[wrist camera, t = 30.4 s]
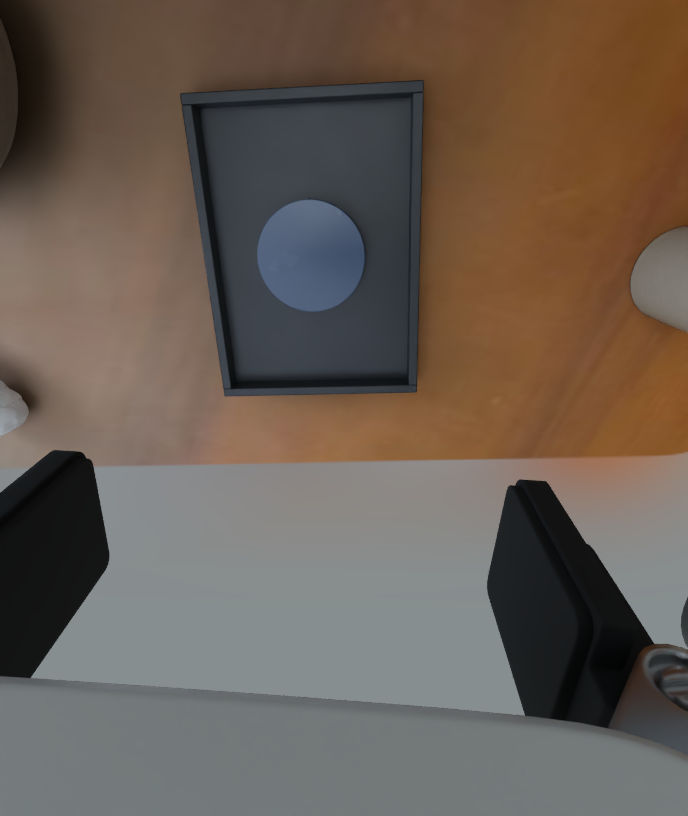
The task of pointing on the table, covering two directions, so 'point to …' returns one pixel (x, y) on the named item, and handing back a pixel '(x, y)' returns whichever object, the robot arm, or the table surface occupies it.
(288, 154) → the tray
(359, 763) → the robot arm
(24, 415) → the garlic bulb
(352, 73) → the table surface
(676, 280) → the jar
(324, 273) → the jar lid
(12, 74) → the bowl
